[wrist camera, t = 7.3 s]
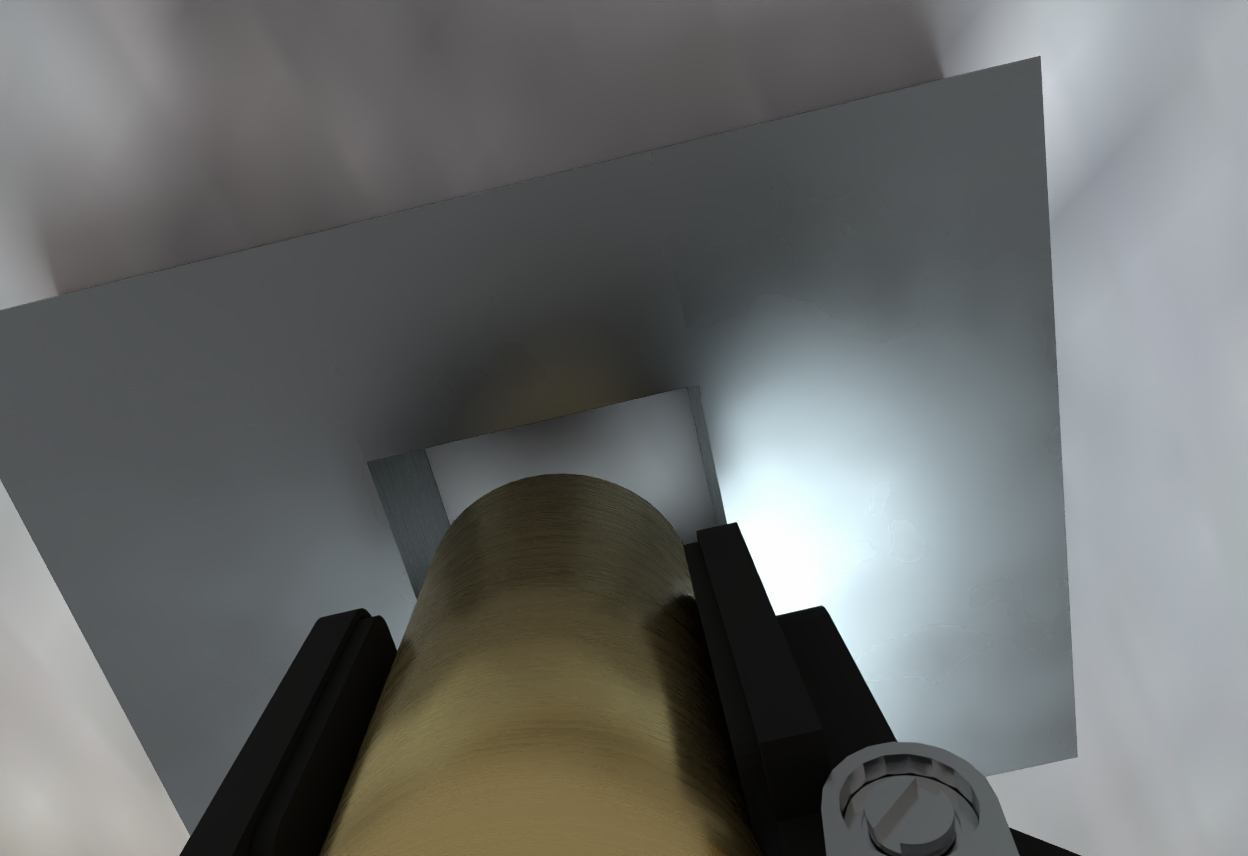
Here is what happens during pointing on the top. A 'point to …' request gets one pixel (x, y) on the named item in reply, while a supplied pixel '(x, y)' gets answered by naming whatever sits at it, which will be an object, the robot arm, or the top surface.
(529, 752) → the beige cylinder
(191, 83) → the top surface
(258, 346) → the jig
